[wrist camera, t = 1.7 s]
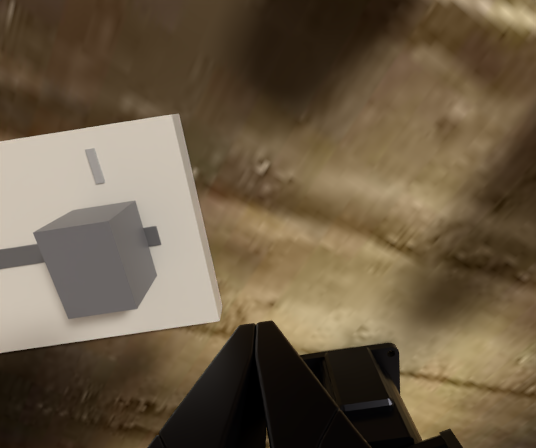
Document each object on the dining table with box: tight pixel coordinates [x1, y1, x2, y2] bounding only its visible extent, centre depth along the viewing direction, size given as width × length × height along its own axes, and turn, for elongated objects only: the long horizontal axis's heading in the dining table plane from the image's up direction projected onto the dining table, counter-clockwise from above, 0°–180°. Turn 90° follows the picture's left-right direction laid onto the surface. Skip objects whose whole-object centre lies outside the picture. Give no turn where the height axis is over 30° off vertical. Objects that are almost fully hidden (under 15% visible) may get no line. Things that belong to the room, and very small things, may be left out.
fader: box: [33, 201, 157, 319], centre depth 15 cm, size 4×3×3 cm
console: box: [0, 114, 222, 353], centre depth 18 cm, size 11×20×2 cm, turn 98°
